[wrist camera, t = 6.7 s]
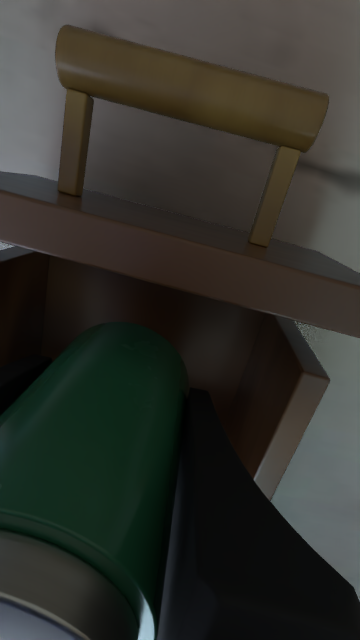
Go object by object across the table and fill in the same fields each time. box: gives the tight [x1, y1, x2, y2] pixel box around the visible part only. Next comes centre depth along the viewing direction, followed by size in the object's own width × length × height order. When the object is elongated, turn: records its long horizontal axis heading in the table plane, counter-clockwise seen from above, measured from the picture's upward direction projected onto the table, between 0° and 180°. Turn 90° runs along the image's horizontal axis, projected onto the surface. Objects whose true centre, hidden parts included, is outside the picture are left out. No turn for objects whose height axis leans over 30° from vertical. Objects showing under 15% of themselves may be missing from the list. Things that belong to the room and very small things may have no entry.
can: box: [0, 322, 189, 640], centre depth 8 cm, size 5×5×8 cm
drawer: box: [0, 25, 360, 544], centre depth 12 cm, size 17×12×7 cm
